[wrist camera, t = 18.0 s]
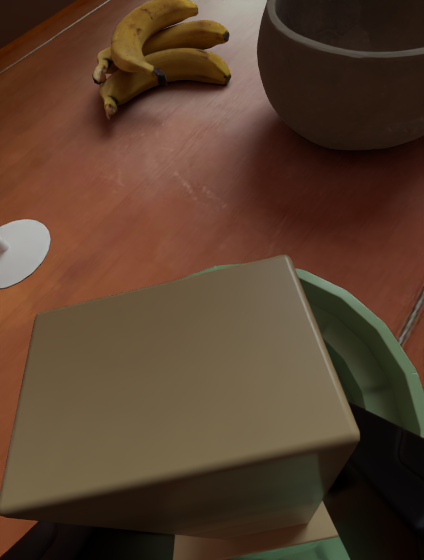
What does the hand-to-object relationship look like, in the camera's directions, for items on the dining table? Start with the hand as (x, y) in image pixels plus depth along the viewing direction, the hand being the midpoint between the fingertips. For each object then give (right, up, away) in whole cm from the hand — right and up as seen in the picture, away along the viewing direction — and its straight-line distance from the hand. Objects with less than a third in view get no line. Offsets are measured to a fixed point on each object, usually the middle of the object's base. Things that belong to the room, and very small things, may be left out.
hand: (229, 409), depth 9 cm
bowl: (+13, +19, +24) cm, 33 cm away
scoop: (+1, -3, +6) cm, 7 cm away
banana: (-6, +26, +33) cm, 42 cm away
